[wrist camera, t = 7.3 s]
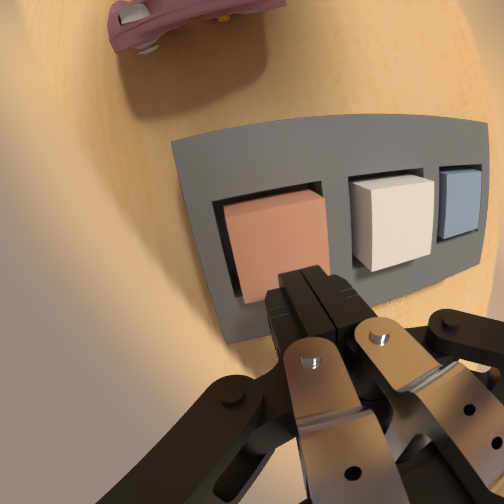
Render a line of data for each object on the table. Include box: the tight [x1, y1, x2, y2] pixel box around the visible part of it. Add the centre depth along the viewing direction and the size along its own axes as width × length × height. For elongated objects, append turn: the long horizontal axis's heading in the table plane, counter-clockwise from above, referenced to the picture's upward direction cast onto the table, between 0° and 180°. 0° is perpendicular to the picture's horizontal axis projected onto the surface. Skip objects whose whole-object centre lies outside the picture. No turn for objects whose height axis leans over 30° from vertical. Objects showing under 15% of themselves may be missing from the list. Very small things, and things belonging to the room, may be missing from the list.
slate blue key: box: [437, 166, 482, 239], centre depth 15 cm, size 4×4×2 cm
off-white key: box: [348, 174, 434, 272], centre depth 14 cm, size 4×4×2 cm
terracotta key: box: [223, 188, 330, 304], centre depth 14 cm, size 4×4×2 cm
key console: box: [171, 114, 489, 344], centre depth 16 cm, size 12×22×4 cm, turn 100°
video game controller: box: [108, 0, 286, 54], centre depth 9 cm, size 10×5×7 cm, turn 107°
